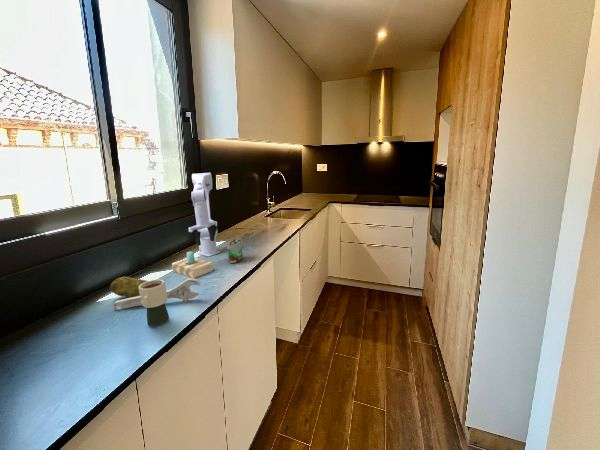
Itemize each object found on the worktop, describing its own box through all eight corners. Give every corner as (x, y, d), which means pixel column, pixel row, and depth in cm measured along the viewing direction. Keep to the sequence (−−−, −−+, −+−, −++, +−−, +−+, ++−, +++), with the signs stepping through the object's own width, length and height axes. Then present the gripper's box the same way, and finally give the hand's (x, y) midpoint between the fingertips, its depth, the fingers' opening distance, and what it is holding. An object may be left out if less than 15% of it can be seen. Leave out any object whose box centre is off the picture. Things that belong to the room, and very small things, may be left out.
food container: (241, 264, 135) (239, 244, 132) (229, 265, 135) (226, 245, 133) (247, 256, 147) (245, 237, 144) (235, 256, 147) (233, 238, 145)
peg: (188, 271, 130) (185, 252, 128) (193, 269, 132) (191, 251, 130) (191, 272, 128) (188, 254, 126) (197, 270, 130) (194, 252, 128)
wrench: (119, 315, 101) (204, 296, 104) (116, 317, 99) (203, 298, 102) (111, 294, 99) (198, 276, 102) (108, 297, 97) (197, 278, 100)
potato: (146, 299, 105) (142, 279, 103) (109, 303, 104) (105, 283, 102) (155, 289, 113) (151, 270, 111) (120, 293, 112) (116, 274, 110)
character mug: (154, 314, 94) (147, 277, 91) (176, 312, 95) (170, 275, 92) (138, 333, 84) (130, 293, 81) (163, 331, 84) (155, 291, 81)
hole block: (173, 271, 131) (171, 263, 130) (192, 264, 139) (191, 256, 138) (193, 278, 122) (191, 269, 121) (212, 270, 129) (211, 262, 129)
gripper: (193, 219, 126) (197, 248, 129) (219, 213, 137) (223, 240, 140) (184, 217, 130) (188, 246, 133) (210, 212, 141) (214, 238, 144)
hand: (205, 243), depth 137 cm, fingers open, 7 cm apart
